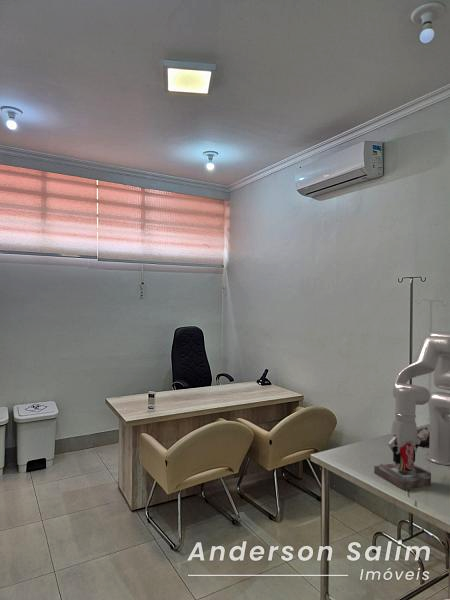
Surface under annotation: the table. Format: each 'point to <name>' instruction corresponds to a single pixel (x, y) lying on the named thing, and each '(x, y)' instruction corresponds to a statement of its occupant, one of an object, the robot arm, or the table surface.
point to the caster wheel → (423, 437)
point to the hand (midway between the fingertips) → (404, 461)
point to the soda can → (406, 458)
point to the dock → (404, 476)
